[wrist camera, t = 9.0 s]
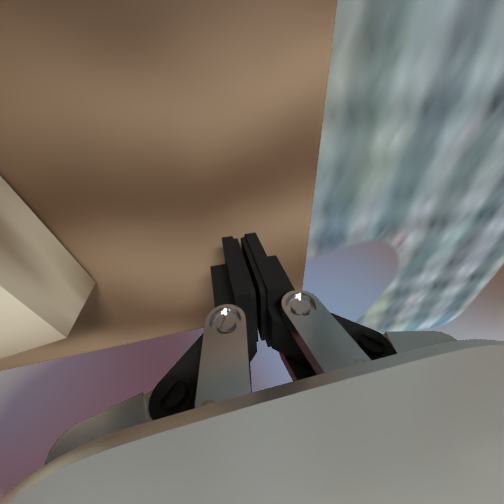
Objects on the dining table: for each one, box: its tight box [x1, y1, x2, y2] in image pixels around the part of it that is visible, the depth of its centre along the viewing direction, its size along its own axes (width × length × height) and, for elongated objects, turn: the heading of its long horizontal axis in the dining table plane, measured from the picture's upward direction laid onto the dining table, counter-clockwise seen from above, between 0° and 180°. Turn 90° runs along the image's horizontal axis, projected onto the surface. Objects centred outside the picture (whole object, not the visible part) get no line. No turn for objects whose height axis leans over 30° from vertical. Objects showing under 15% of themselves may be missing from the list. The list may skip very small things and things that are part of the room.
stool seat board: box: [0, 0, 337, 371], centre depth 10 cm, size 20×20×2 cm
